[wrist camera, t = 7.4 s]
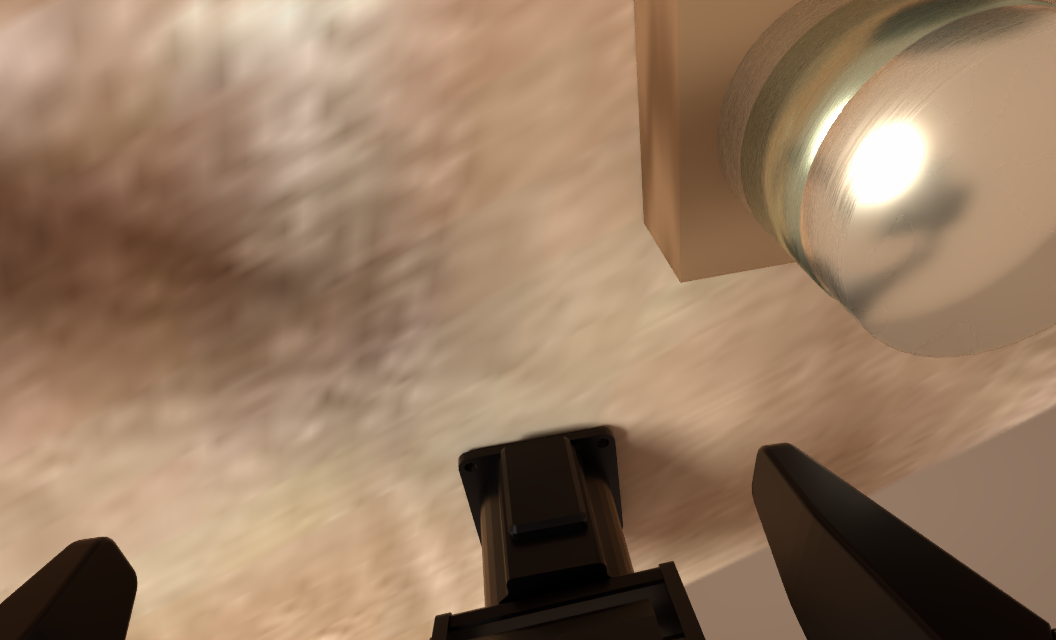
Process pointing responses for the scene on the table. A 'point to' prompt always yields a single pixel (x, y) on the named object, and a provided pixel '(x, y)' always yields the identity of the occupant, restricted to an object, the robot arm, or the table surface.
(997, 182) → the tin
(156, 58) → the table surface
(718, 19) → the block
